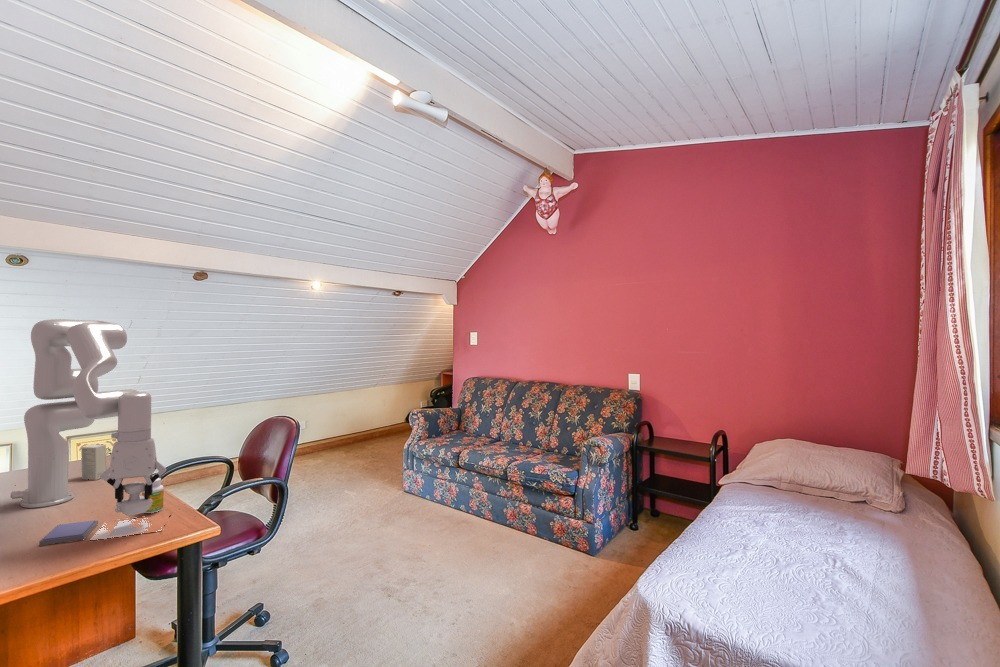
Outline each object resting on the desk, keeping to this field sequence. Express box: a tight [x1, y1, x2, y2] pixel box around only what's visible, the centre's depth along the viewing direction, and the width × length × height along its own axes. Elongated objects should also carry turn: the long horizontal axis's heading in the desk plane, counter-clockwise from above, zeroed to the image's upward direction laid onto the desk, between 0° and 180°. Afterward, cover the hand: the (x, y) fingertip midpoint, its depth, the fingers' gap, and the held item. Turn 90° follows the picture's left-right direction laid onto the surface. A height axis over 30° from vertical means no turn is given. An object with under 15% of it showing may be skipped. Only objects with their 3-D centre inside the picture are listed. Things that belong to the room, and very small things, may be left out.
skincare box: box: [80, 443, 107, 481], centre depth 178 cm, size 6×4×12 cm
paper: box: [89, 518, 162, 541], centre depth 136 cm, size 16×14×1 cm
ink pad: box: [39, 519, 99, 547], centre depth 130 cm, size 9×11×2 cm
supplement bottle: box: [141, 477, 165, 514], centre depth 148 cm, size 5×5×10 cm
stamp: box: [114, 481, 153, 517], centre depth 136 cm, size 9×7×8 cm
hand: (133, 498), depth 136 cm, fingers closed on stamp, 5 cm apart
